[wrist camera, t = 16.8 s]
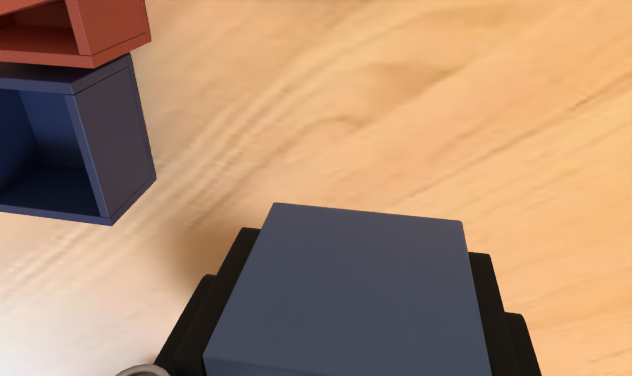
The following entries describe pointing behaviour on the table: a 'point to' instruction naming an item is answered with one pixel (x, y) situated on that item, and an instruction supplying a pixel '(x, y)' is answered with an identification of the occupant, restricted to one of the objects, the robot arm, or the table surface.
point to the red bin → (74, 32)
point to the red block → (21, 5)
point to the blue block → (351, 299)
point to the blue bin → (72, 141)
